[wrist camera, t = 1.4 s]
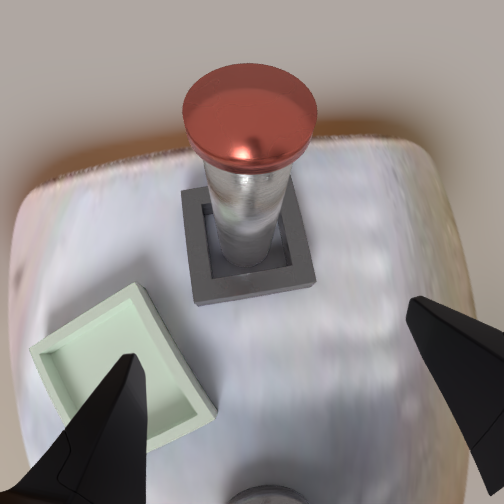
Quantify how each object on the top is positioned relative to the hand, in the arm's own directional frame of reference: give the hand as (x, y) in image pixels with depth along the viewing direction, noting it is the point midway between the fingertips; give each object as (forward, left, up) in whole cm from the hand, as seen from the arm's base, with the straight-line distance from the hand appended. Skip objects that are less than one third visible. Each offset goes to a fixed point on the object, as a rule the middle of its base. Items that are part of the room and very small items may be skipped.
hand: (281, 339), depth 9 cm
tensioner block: (+4, -6, -13) cm, 15 cm away
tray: (+7, +8, -13) cm, 17 cm away
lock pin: (+4, -6, -13) cm, 15 cm away
